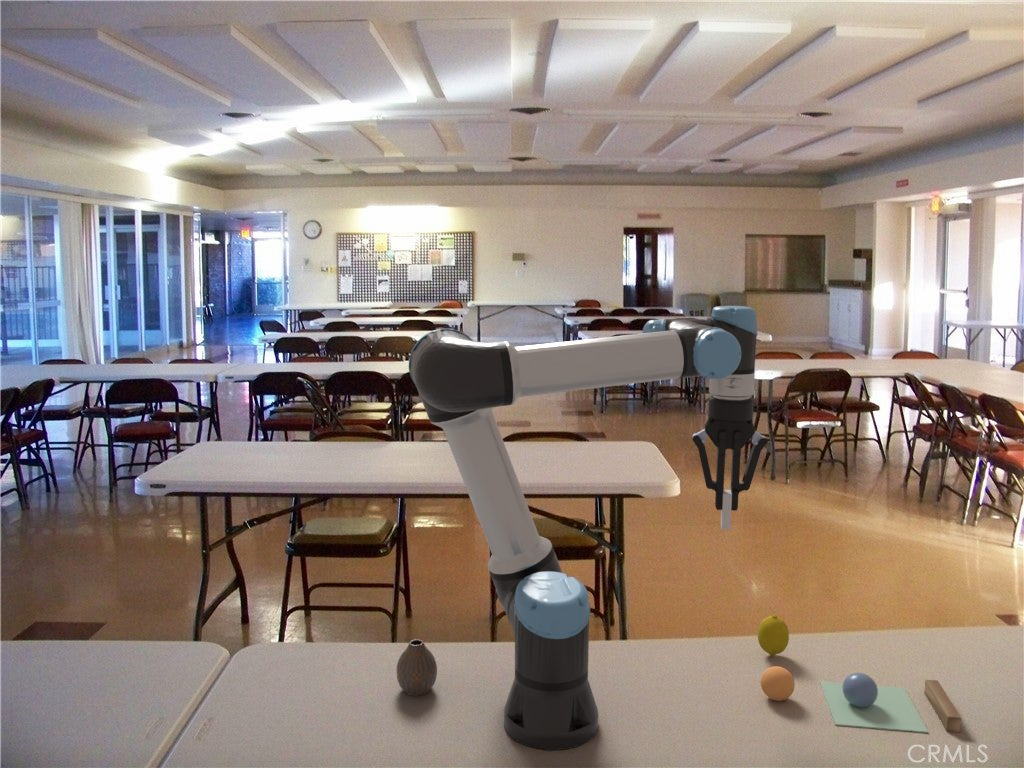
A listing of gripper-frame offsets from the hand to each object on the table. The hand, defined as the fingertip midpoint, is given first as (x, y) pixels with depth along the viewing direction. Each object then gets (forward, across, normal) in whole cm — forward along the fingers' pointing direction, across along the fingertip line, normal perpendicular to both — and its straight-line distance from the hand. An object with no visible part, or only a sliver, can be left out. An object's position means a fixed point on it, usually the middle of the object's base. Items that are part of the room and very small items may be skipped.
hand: (725, 527), depth 157 cm
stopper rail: (+26, +35, -10) cm, 45 cm away
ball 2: (+24, +22, -10) cm, 34 cm away
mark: (+26, +24, -10) cm, 37 cm away
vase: (+27, -52, -17) cm, 61 cm away
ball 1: (+24, +9, -10) cm, 27 cm away
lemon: (+27, +10, +6) cm, 29 cm away
